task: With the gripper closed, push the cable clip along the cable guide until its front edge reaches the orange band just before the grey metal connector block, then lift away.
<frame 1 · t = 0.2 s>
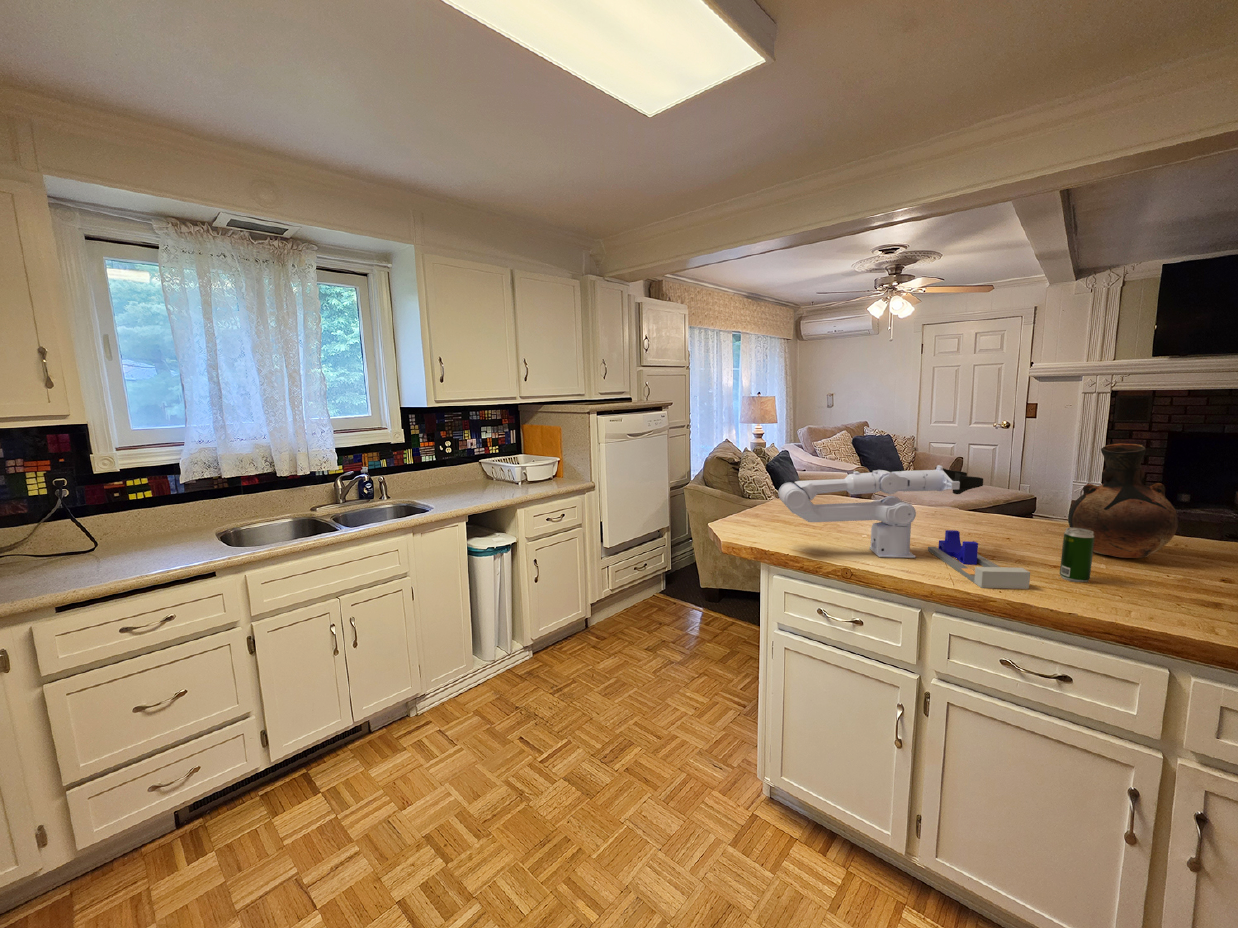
hand: (974, 479, 136), 21 cm above the countertop, tool horizontal, fingers open, 7 cm apart
beer can: (1074, 579, 120), on the countertop
cable clip: (956, 558, 138), resting in cable guide
ceramic vessel: (1116, 556, 135), on the countertop
cable guide: (969, 565, 131), on the countertop
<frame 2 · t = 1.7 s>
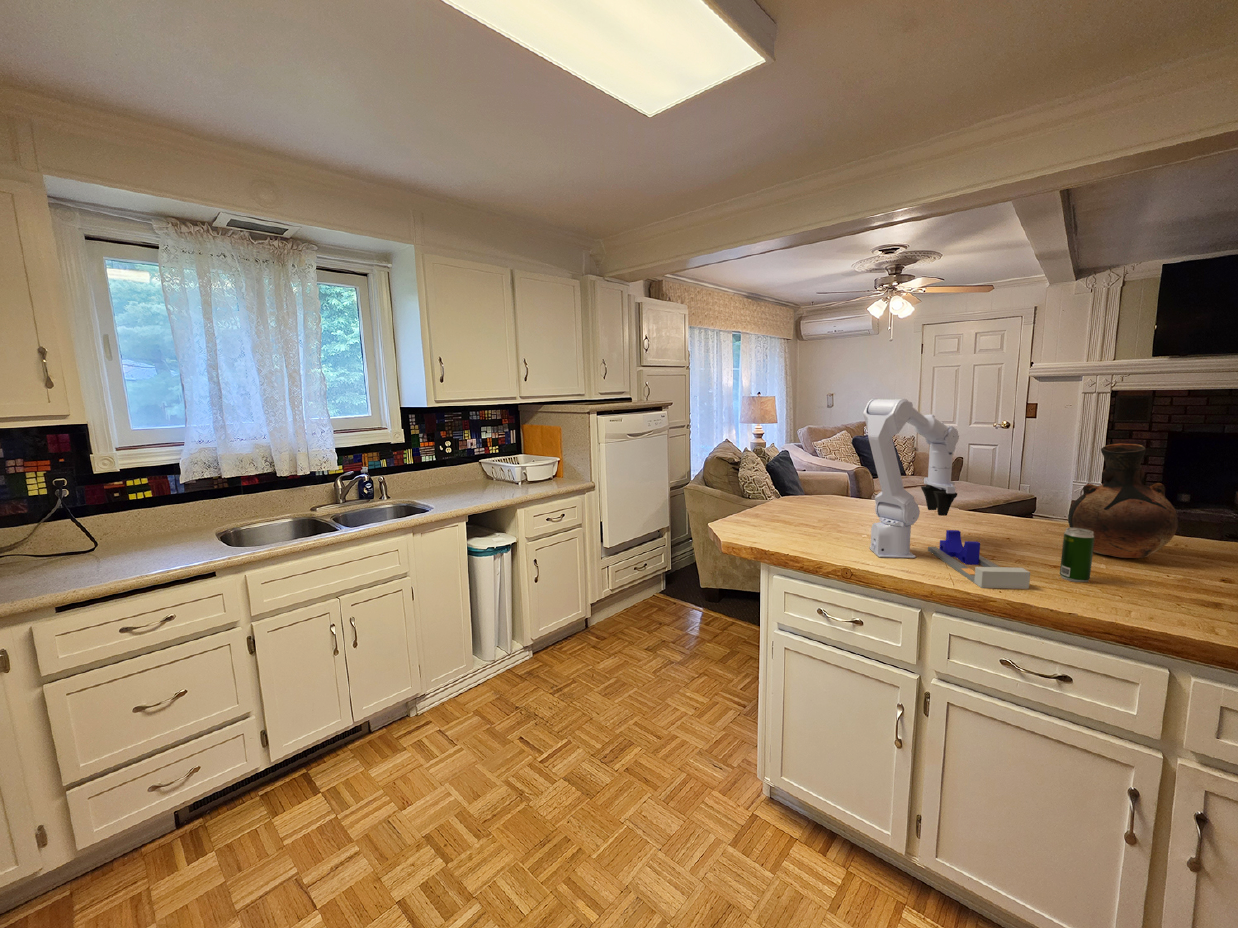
hand: (937, 512, 148), 9 cm above the countertop, tool pointing down, fingers open, 6 cm apart
nothing on the countertop moved.
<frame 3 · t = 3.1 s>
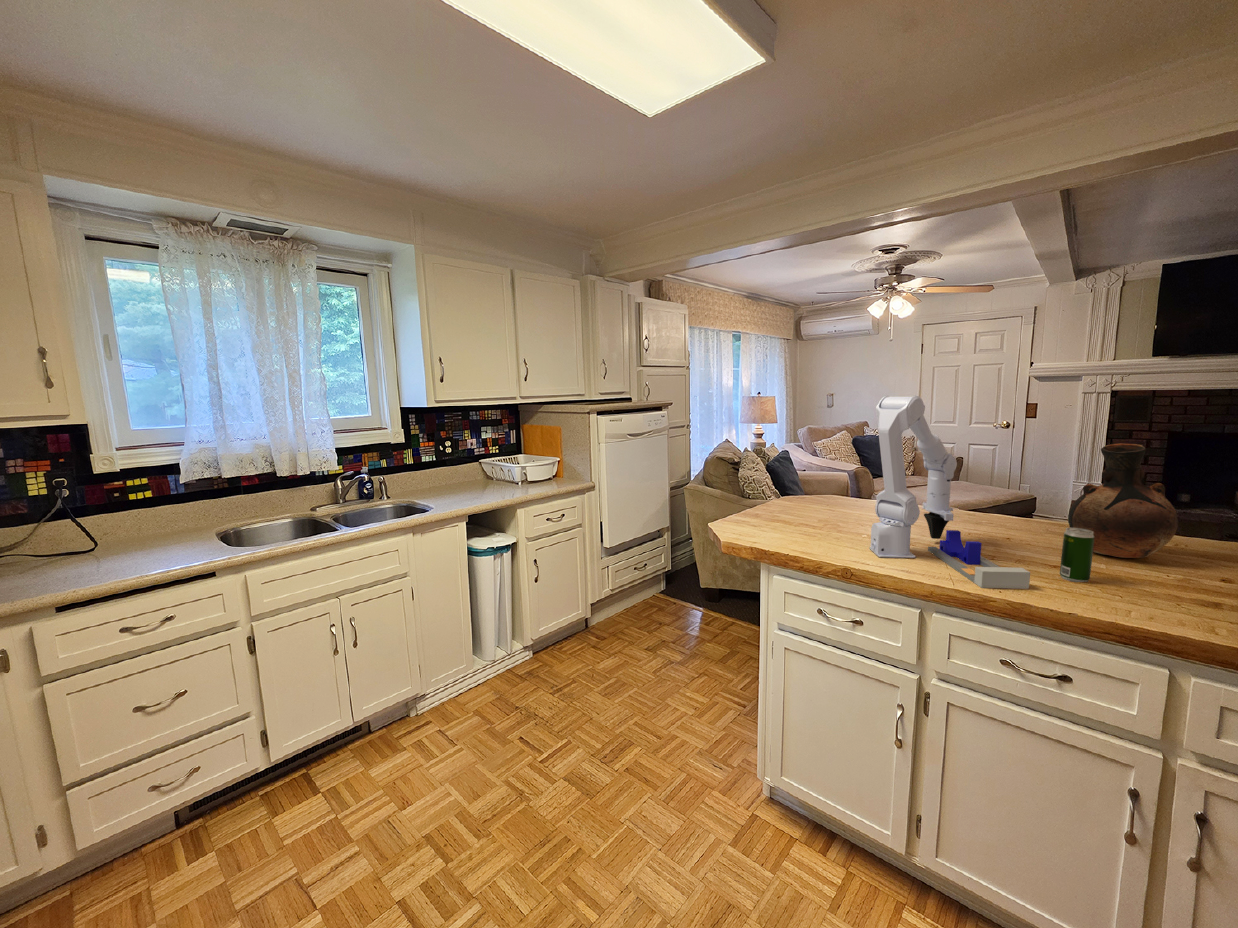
hand: (935, 538, 149), 2 cm above the countertop, tool pointing down, fingers closed
nothing on the countertop moved.
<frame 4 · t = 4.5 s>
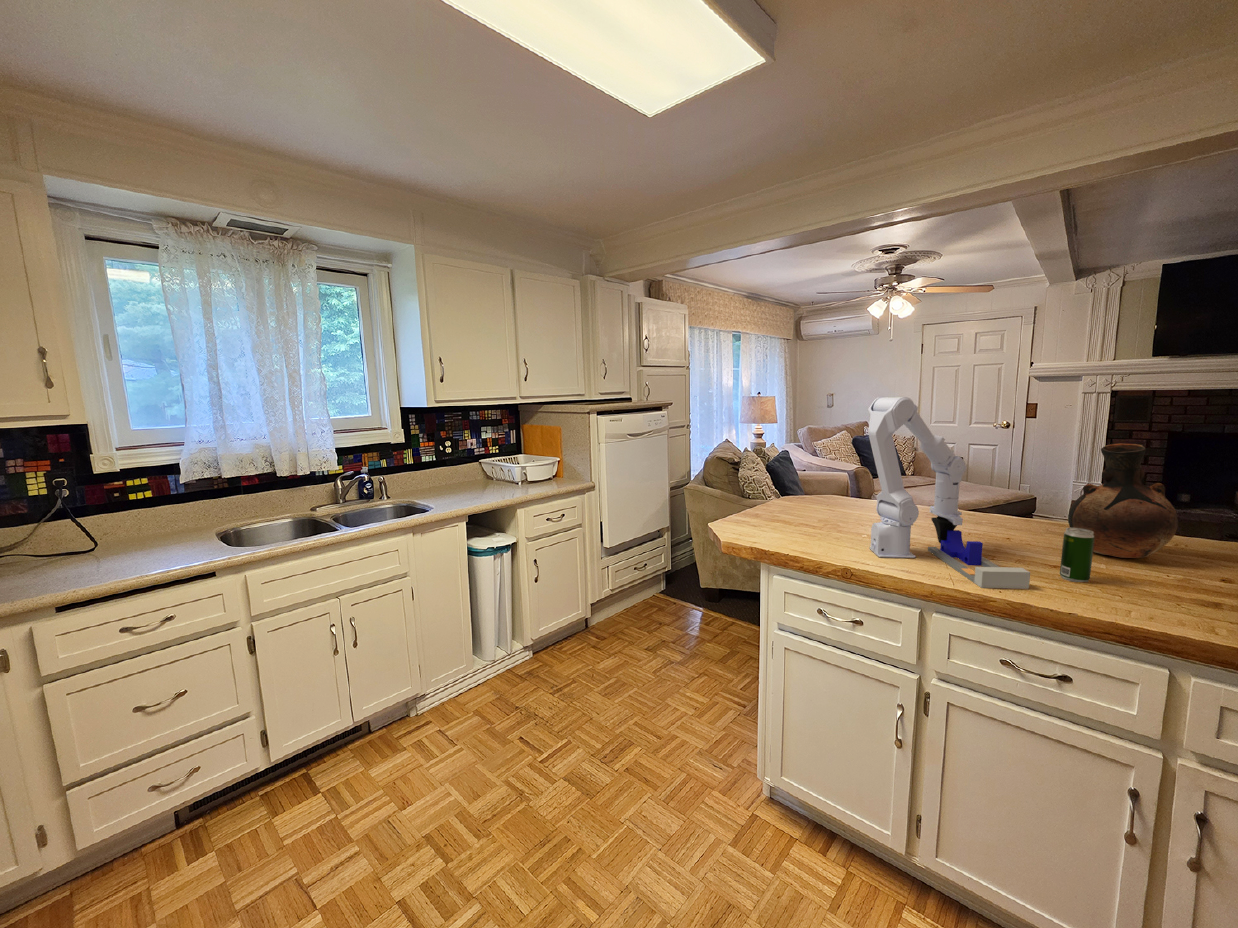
hand: (943, 543, 145), 2 cm above the countertop, tool pointing down, fingers closed
cable clip: (959, 558, 137), resting in cable guide, touching gripper
everything else where it was.
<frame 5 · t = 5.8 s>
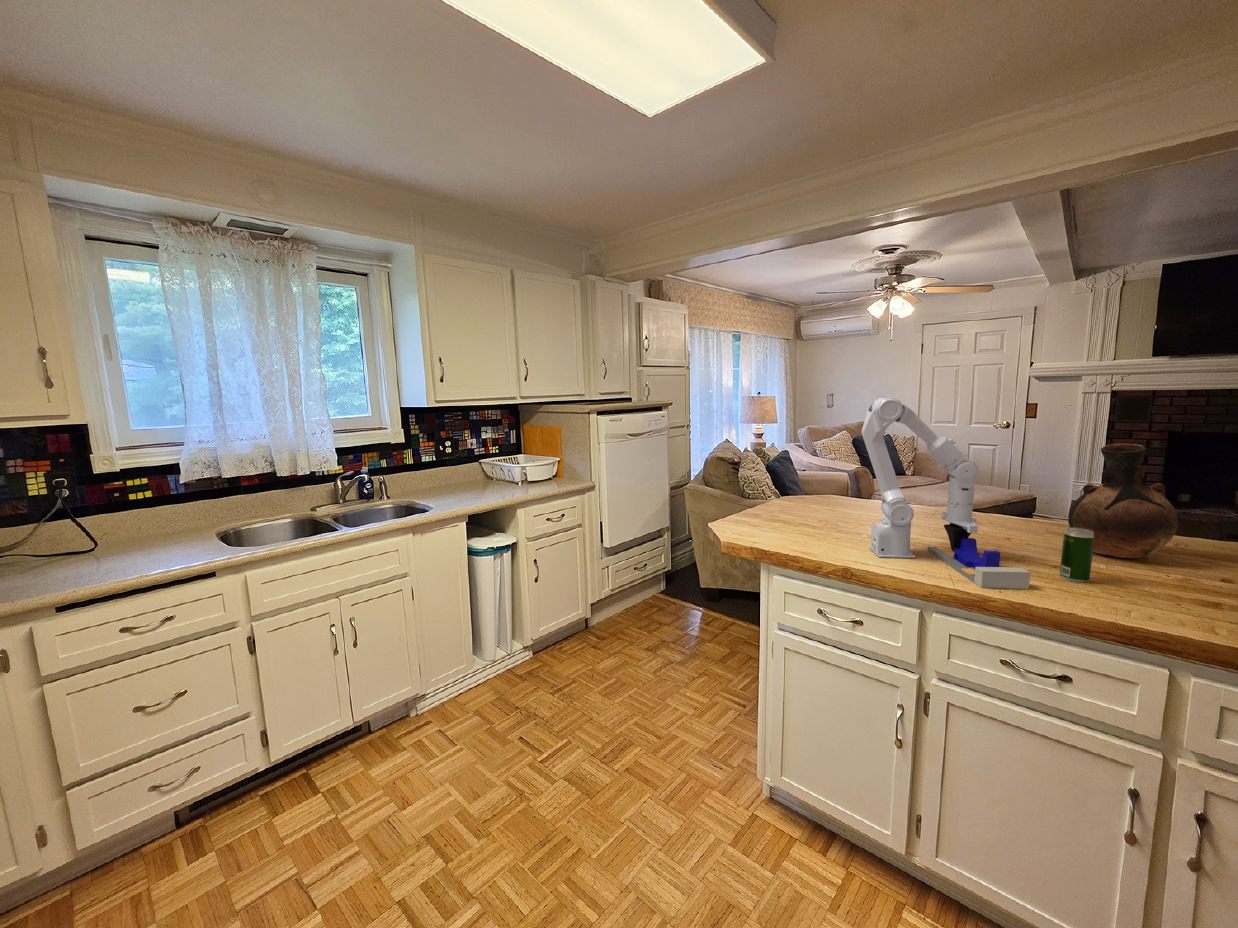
hand: (956, 551, 137), 2 cm above the countertop, tool pointing down, fingers closed
cable clip: (974, 567, 130), resting in cable guide, touching gripper
everything else where it was.
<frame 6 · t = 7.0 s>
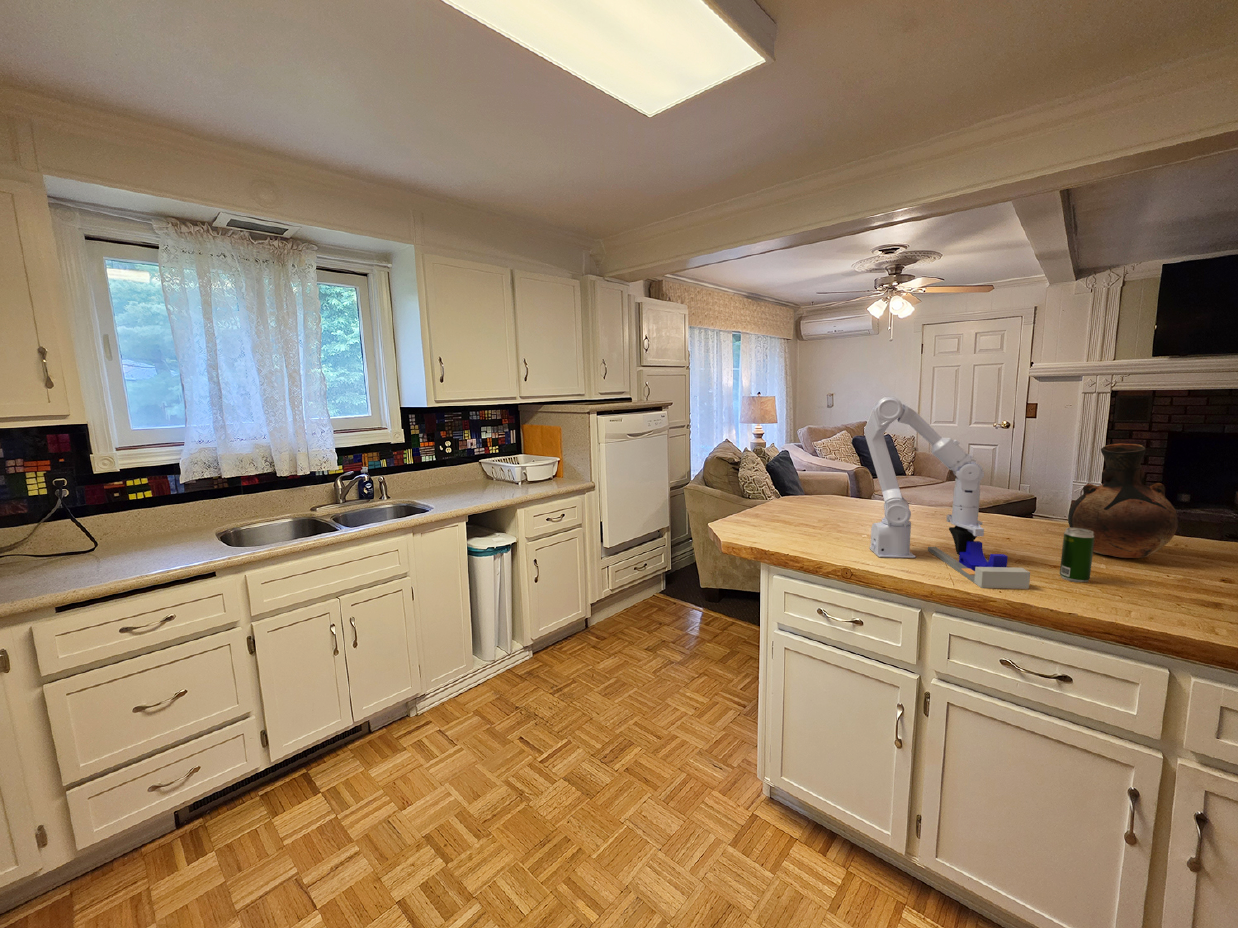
hand: (962, 554, 135), 2 cm above the countertop, tool pointing down, fingers closed
cable clip: (981, 571, 127), resting in cable guide, touching gripper
everything else where it was.
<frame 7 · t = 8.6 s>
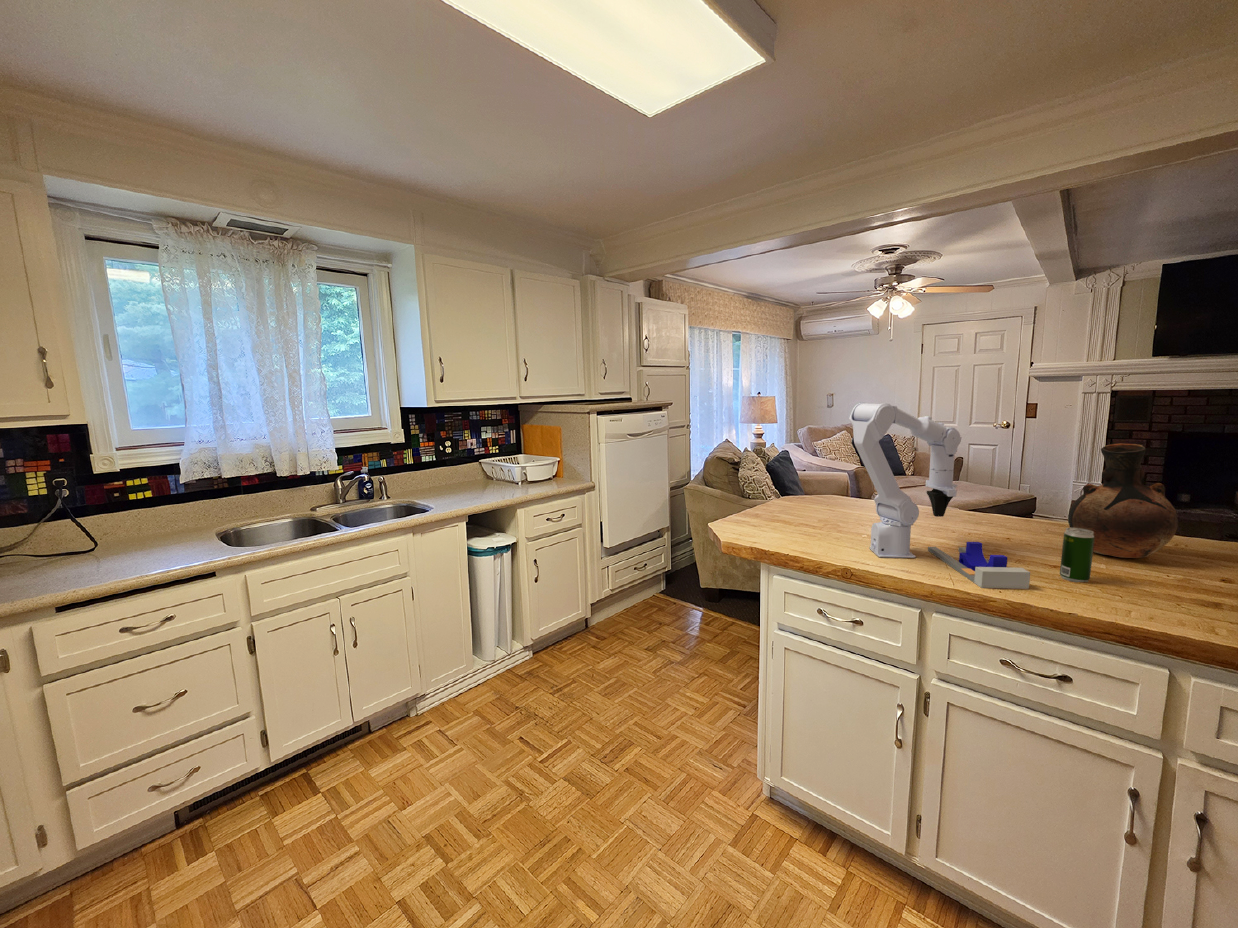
hand: (938, 516, 144), 9 cm above the countertop, tool pointing down, fingers closed
cable clip: (980, 572, 127), resting in cable guide
everything else where it was.
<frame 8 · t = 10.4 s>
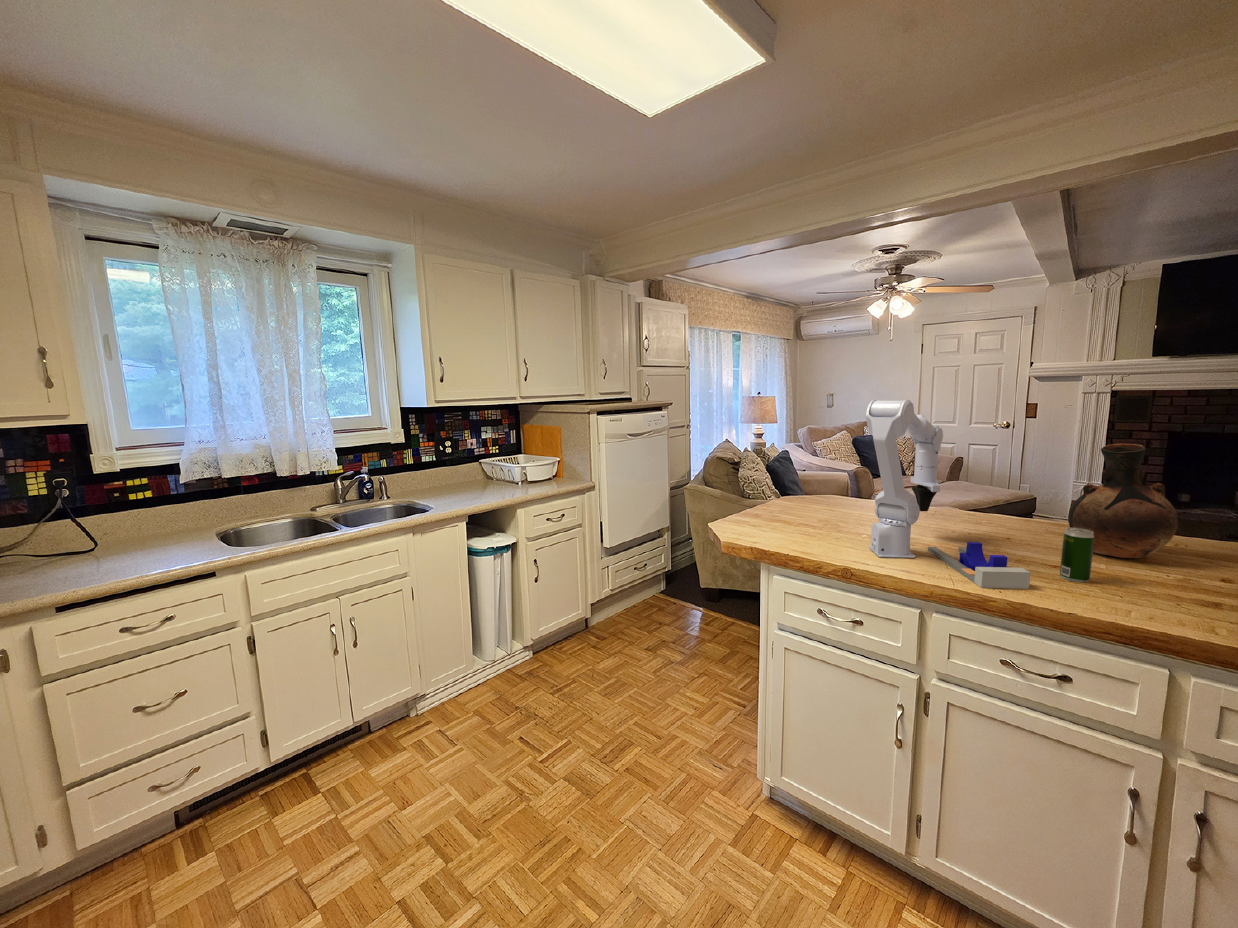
hand: (923, 510, 151), 9 cm above the countertop, tool pointing down, fingers closed
nothing on the countertop moved.
at the end: cable clip 1.6 cm from the target spot, resting in cable guide; cable clip tilted 0° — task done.
